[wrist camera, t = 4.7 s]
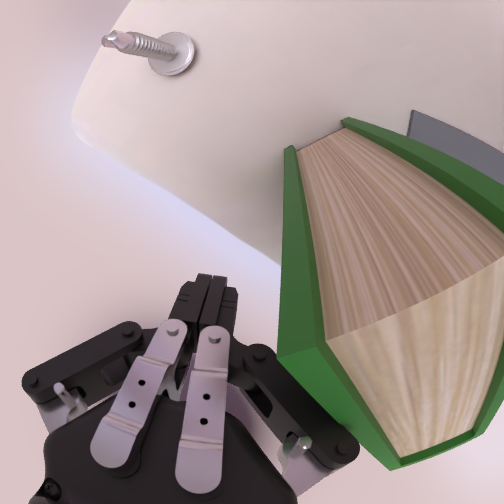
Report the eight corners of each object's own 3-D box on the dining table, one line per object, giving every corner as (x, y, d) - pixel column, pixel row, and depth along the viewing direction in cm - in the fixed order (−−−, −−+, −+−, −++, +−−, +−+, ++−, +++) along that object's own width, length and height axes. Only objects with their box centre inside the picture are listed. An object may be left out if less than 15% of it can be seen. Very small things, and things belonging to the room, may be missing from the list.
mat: (525, 168, 21) (527, 169, 20) (467, 303, 34) (469, 306, 33) (412, 109, 22) (414, 110, 21) (358, 291, 35) (359, 294, 34)
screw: (149, 65, 23) (172, 29, 20) (183, 83, 24) (209, 46, 21) (68, 59, 12) (101, 0, 9) (112, 81, 13) (151, 15, 10)
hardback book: (284, 149, 26) (276, 358, 6) (348, 117, 23) (553, 222, 3) (351, 276, 33) (390, 471, 13) (403, 252, 30) (483, 433, 10)
